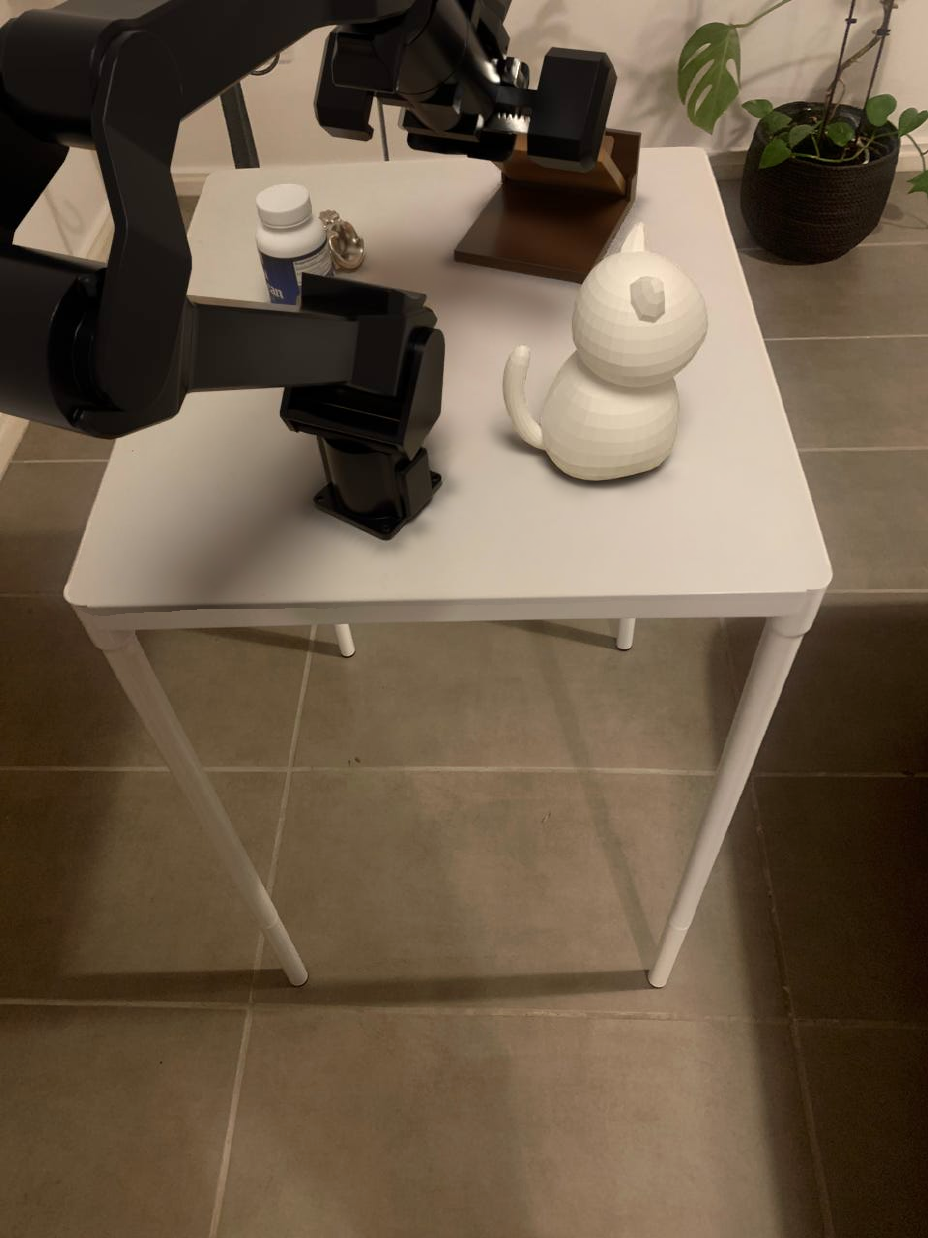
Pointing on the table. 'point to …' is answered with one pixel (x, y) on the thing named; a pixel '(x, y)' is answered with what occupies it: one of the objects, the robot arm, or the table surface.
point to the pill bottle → (290, 241)
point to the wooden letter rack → (596, 179)
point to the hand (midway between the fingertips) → (496, 147)
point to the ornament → (342, 240)
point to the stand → (552, 222)
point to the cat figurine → (616, 367)
